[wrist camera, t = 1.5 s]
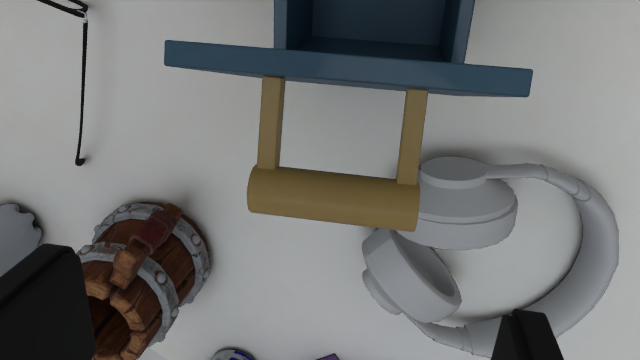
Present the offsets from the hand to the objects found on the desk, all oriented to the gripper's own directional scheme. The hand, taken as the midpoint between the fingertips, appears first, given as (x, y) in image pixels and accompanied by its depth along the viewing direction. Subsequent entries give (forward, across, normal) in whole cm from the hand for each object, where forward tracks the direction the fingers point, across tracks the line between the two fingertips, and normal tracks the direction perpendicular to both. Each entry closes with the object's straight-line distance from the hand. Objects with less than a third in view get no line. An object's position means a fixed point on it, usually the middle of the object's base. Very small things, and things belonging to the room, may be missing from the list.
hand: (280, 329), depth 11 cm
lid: (+14, 0, -3) cm, 14 cm away
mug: (+31, +19, +19) cm, 41 cm away
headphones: (+31, -11, +15) cm, 36 cm away
